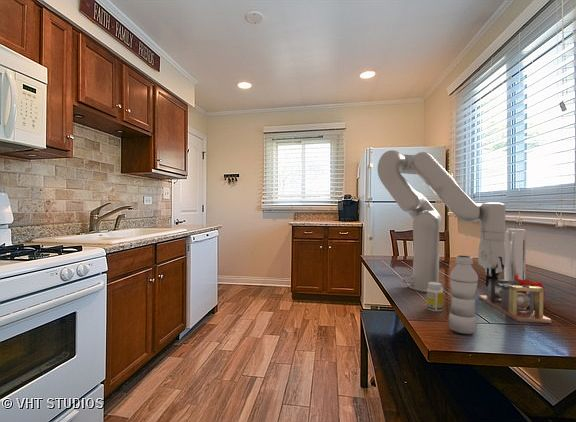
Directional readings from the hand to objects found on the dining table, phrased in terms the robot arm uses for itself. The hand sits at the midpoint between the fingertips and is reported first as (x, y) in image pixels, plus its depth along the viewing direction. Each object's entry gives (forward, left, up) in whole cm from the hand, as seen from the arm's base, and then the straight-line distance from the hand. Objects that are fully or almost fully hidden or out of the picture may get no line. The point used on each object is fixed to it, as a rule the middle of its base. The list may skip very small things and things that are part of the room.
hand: (491, 286), depth 111 cm
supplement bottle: (-25, -17, -4) cm, 30 cm away
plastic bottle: (-24, -35, -4) cm, 42 cm away
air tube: (0, -10, -2) cm, 10 cm away
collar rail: (0, -12, -4) cm, 13 cm away
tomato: (+11, -3, -5) cm, 12 cm away
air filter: (+13, +9, -4) cm, 17 cm away
